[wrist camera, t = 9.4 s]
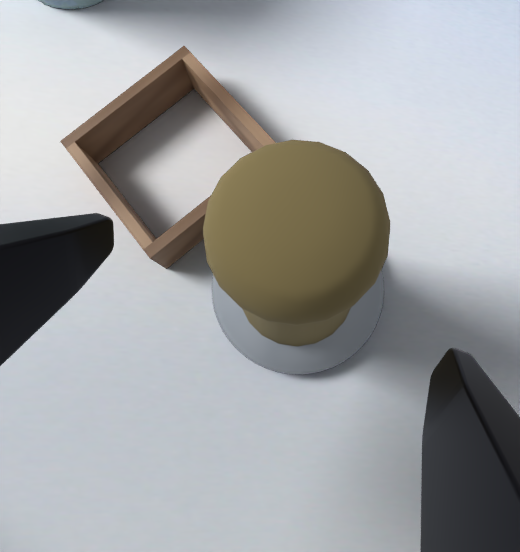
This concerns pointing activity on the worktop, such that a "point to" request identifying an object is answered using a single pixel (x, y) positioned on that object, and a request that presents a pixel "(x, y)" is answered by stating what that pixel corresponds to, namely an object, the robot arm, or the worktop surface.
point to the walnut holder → (138, 114)
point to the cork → (296, 238)
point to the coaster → (306, 356)
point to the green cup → (70, 3)
